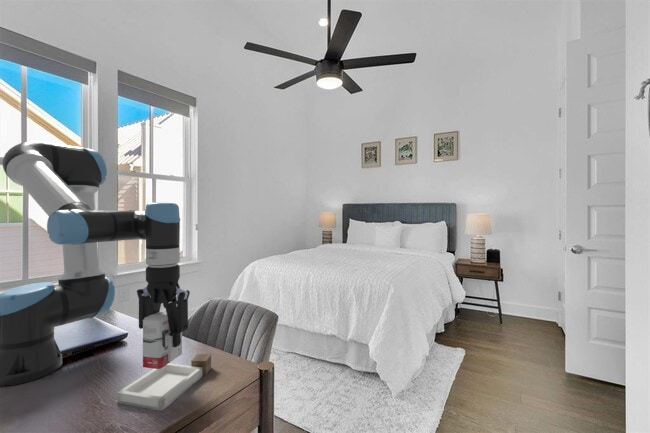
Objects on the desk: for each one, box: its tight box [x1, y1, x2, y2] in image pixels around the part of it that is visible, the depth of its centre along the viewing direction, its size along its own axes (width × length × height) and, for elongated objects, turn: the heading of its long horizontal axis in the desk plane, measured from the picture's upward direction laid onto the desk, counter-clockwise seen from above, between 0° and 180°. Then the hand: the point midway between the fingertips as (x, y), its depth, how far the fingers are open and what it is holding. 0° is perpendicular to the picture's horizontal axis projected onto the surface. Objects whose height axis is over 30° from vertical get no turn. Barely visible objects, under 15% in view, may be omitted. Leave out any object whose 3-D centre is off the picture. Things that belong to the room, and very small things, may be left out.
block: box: [190, 353, 212, 376], centre depth 88 cm, size 4×4×4 cm
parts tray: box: [116, 362, 203, 412], centre depth 79 cm, size 12×15×2 cm
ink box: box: [142, 308, 183, 370], centre depth 79 cm, size 9×5×12 cm, turn 168°
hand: (163, 357), depth 79 cm, fingers closed on ink box, 5 cm apart
